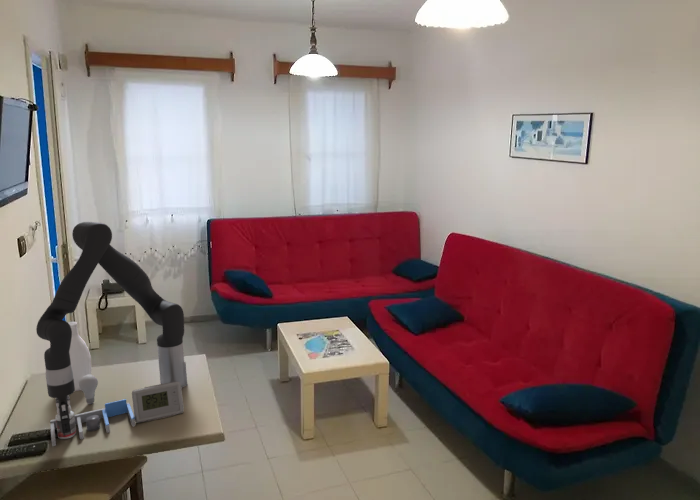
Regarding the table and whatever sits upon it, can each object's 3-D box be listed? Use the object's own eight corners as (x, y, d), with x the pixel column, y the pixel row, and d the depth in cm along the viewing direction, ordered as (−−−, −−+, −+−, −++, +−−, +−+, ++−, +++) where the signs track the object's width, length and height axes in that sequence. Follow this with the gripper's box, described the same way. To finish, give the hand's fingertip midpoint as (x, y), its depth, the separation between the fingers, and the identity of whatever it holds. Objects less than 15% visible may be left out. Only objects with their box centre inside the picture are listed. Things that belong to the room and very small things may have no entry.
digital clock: (132, 425, 182) (130, 395, 180) (136, 412, 191) (133, 383, 188) (183, 418, 186) (181, 389, 184) (184, 406, 195) (182, 378, 192)
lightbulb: (92, 408, 193) (89, 379, 191) (77, 407, 194) (74, 378, 192) (103, 400, 199) (100, 372, 197) (88, 399, 200) (85, 371, 198)
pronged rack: (129, 410, 192) (128, 397, 191) (135, 425, 182) (134, 411, 181) (51, 428, 180) (49, 414, 179) (52, 446, 170) (50, 431, 169)
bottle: (62, 395, 203) (54, 330, 198) (60, 384, 212) (52, 321, 207) (95, 388, 209) (88, 325, 203) (92, 377, 218) (85, 316, 213)
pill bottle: (54, 435, 176) (51, 407, 174) (72, 428, 180) (68, 401, 178) (62, 441, 173) (58, 413, 171) (79, 434, 177) (76, 406, 175)
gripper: (74, 385, 168) (80, 433, 171) (71, 368, 180) (77, 413, 184) (47, 391, 164) (53, 440, 168) (46, 373, 177) (52, 419, 180)
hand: (66, 426), depth 176 cm, fingers open, 8 cm apart
